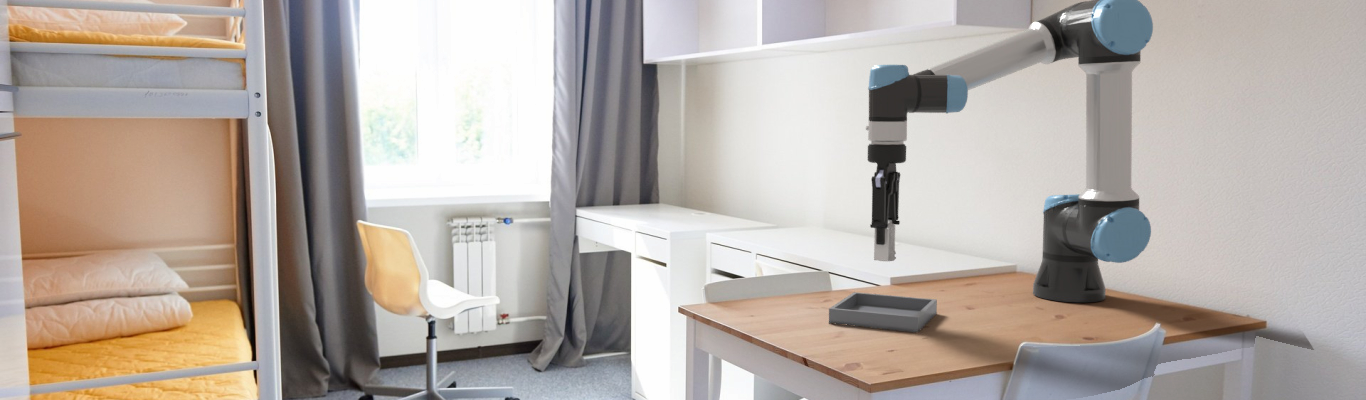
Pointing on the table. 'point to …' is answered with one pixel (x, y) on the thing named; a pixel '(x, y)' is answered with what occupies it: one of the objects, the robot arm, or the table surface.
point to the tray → (884, 311)
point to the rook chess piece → (891, 249)
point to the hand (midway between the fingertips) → (884, 258)
